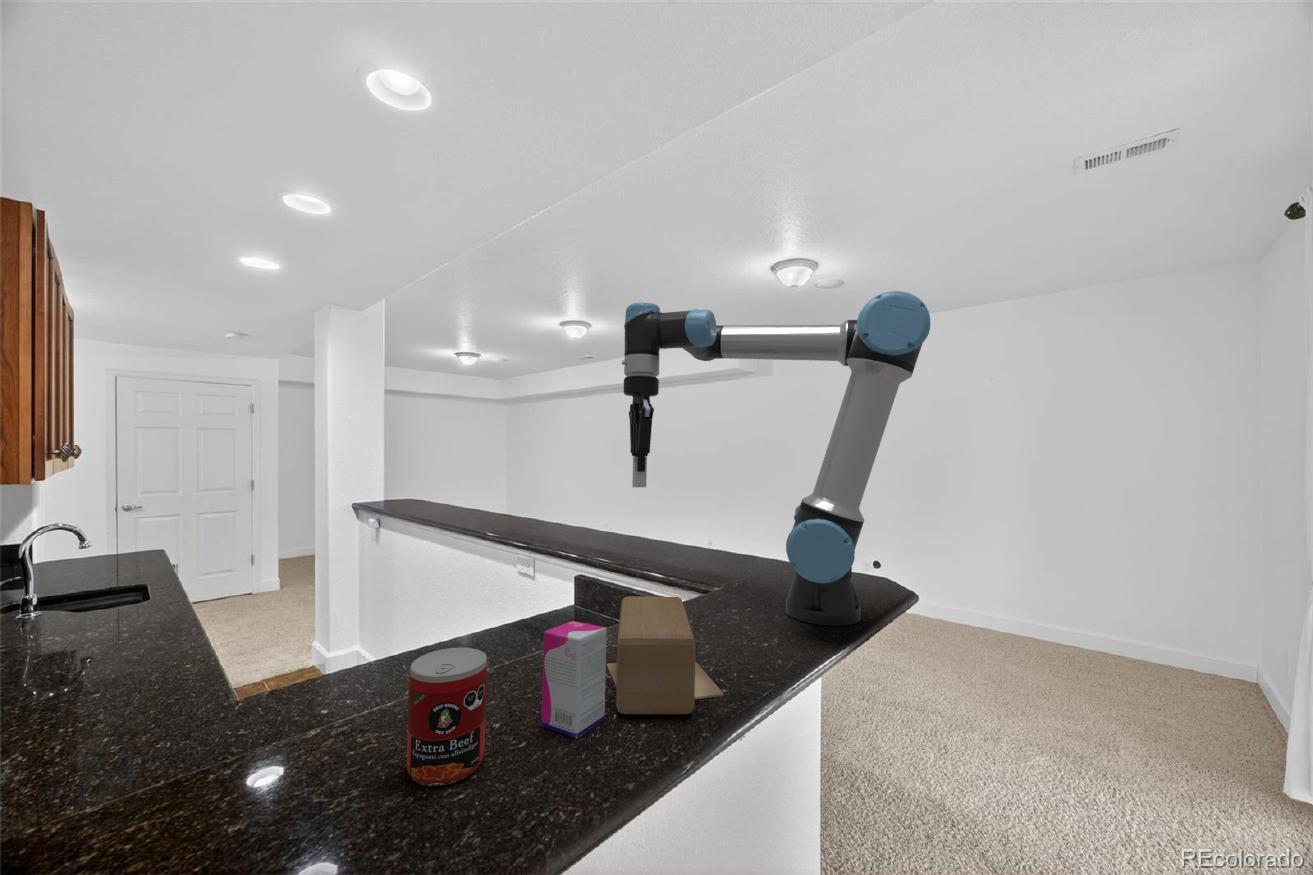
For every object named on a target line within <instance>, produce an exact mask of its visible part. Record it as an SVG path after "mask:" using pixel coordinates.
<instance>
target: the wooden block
mask: <svg viewBox="0 0 1313 875" xmlns="http://www.w3.org/2000/svg"><path fill="white" fill-rule="evenodd" d="M618 624H619V625H618V632H617V634H618V635H617V640H616V642H617V645H616V646H617V648H616V649H617V650H616V663H617V686H615V687H616V691H615V692H616V693H615V694H616V696H615V706H616V709H617V711H618V713H620V714H622V715H688V714H691V713H692V712H693V711H694V708H695V700H696V699H695V661H696V640H695V636H694V634H693V630H692V627H691V624H690V621H689V618H688V614H687V612H686V607H685V605H684V602H683V599H682V598H681V597H678V596H637V595H635V596H631V595H630V596H625V597H623V598H622V601H621V603H620V615H619V621H618Z"/></svg>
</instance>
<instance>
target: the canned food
mask: <svg viewBox="0 0 1313 875" xmlns="http://www.w3.org/2000/svg"><path fill="white" fill-rule="evenodd" d="M487 677H488V660H487V654H486V653H485V652H483V650H479V649H476V648H472V647H450V648H443V649H437V650H434V651H431V652H427V653H425V654H423V655H421V656H420V657H418V658H416V659H415V660H413V662H412V663H411V664H410V670H409V681H408V707H407V708H408V709H407V712H408V713H407V741H406V742H407V743H406V744H407V745H406V770H407V774H408V773H409V774H408V776H409V775H410V776H411V777H412V778H413V779H414V780H416V781H420V782H423V783H447V782H450V781H452V780H456V779H459V778H463V777H465V776H466V775H468V774H471V773H472V772H473V771H474V770H475V769H477V768H478V767H479V768H480V766H481V765H480V764H482V761H483V758H484V755H485V746H486V745H485V744H486V714H487V713H486V712H487V711H486V710H487V709H486V708H487V687H488V686H487V685H488V684H487V683H488V678H487ZM479 765H480V766H479ZM479 768H478V769H479ZM478 769H477V770H478ZM471 775H472V774H471Z"/></svg>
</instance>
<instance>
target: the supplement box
mask: <svg viewBox="0 0 1313 875" xmlns="http://www.w3.org/2000/svg"><path fill="white" fill-rule="evenodd" d="M607 629H608V628H607V627H604V626H598V625H594V624H590V623H584V622H581V621H575V620H571V621H569V622H566V623H563V624H560V625H559V626H556V627H553V628H550V629H547V630H545V631H543V656H542V658H543V663H542V686H541V687H542V688H541V691H542V692H541V693H542V694H541V717H540V719H541V721H540V722H541V723H540V724H541V725H540V726H541V727H543V728H545V729H547V730H551V731H553V732H557V733H559V734H562V735H565V736H567V737H571V738H573V739H576V740H578V739H579V738H581V737H582V736H583V735H584V734H586V733H588V732H589V731H590V730H591V729H593V728H594V727H596V726H598V725H599V724H600V723H602V722H603V721H605V717H606V716H605V715H606V678H607V677H606V676H607V675H606V671H607V669H606V667H607Z"/></svg>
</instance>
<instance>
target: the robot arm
mask: <svg viewBox="0 0 1313 875" xmlns="http://www.w3.org/2000/svg"><path fill="white" fill-rule="evenodd" d="M624 319H625V320H624V323H623V324H624V326H623V327H624V328H623V329H624V359H623V360H621V365H624V368H623V369H624V370H623V371H624V372H623V373H624V375H625V376H626V377H624V378H623V394H624V395H625V396H628V397H632V402H631V404H629V411H628V417H629V434H630V435H629V440H630V442H629V444H630V450H629V451H630V453H631V456H632V480H631V481H632V485H631V486H632V488H647V473H648V472H647V471H648V470H647V466H648V465H647V464H648V456H649V454H650V452H651V440H652V429H653V417H654V412H655V409H654V406H653V405H652V403H651V399H650V397H656V396H658V395H659V391H660V389H659V388H660V386H659V385H660V384H659V382H660V380H659V379H658V376H660V349H663V350H664V349H665V350H667V349H682V350H684V351H685V352H687V353H689V354H690V355H691V356H692V357H693V358H694V359H696V360H698V361H703V362H711V361H713V360H717V359H718V360H719V359H722V360H723V359H730V360H732V359H734V360H736V359H737V360H777V361H778V360H779V361H781V360H783V361H817V362H819V361H822V362H823V361H825V362H828V361H829V362H838V363H839V364H841V365H842V366H843V367H849V369H850V372H851V374H850V377H849V379H848V382H847V385H846V388H845V392H844V395H843V398H842V400H841V405H840V407H839V410H838V413H837V416H836V419H835V423H834V427H833V429H832V433H831V435H830V438H829V441H828V445H827V448H826V450H825V454H824V457H823V461H822V463H821V465H820V466H821V467H820V470H819V472H818V476H817V480H816V482H815V485H814V488H813V492H812V493H811V494H810V495H806V496H805V497H803V498H802V499H801V502H800V505H798V506H796V507H795V511H794V512H795V513H794V516H793V519H794V520H793V521H794V522H793V527H792V529H791V531H790V532H789V534H788V536H787V538H786V542H785V550H786V556H787V559H788V561H789V564H790V566H791V567H792V568H793V570H794V576H793V580H792V583H791V585H790V589H789V591H788V595H787V598H786V600H785V613H786V614H787V616H789V617H791V618H792V619H795V620H797V621H800V622H804V623H809V624H813V625H820V626H831V627H833V626H835V627H837V626H838V627H842V626H851V625H855V624H858V623H859V622H861V620H862V617H861V616H862V614H861V613H862V612H861V610H862V609H861V605H860V602H859V600H858V599H859V598H858V596H857V593H856V589H855V588H854V583H853V573H852V572H853V570H852V569H853V564H854V562H855V559H856V556H855V553H856V547H857V545H858V542H859V538H860V535H861V531H862V528H863V525H864V523H865V518H864V516H863V514H862V513H861V510H860V507H861V504H862V500H863V497H864V494H865V491H866V489H867V485H868V482H869V479H870V477H871V476H870V475H871V472H872V470H873V467H874V463H875V460H876V458H877V455H878V450H879V448H880V445H881V443H882V438H883V436H884V433H885V429H886V427H887V424H888V420H889V418H890V414H891V411H892V408H893V405H894V402H895V399H896V398H897V397H896V396H897V394H898V391H899V388H900V385H901V383H903V382H905V381H907V380H908V379H911V378H912V376H913V373H914V371H915V368H916V364H917V361H918V358H919V356H920V352H921V350H922V347H923V344H924V343H925V340H927V338H928V336H929V334H930V330H931V315H930V312H929V310H928V307H927V306H926V304H925V303H924V302H923V301H922V299H920V297H917V296H916V295H914V294H913V293H910V292H906V291H902V290H891V291H886V292H882V293H880V294H878V295H876V296H874V297H872V298H871V299H870V300H869V301H868V302H866V304H865V305H864V306H863V307H862V309H861V310H860V312H859V314H858V316H857V319H846V320H845V321H844V322H843V323H840V324H766V325H765V324H763V325H761V324H752V325H751V324H748V325H747V324H745V325H744V324H740V325H739V324H738V325H737V324H736V325H735V324H734V325H733V324H732V325H730V324H729V325H728V324H727V325H726V324H725V325H717V322H716V316H715V314H714V312H713V311H712V310H710V309H696V308H694V309H691V310H683V311H682V310H681V311H670V312H661V308H660V306H659V305H657V304H655V303H653V302H643V301H642V302H641V301H640V302H635V303H631V304H629V305H628V306H627V308H626V310H625V318H624Z"/></svg>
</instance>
